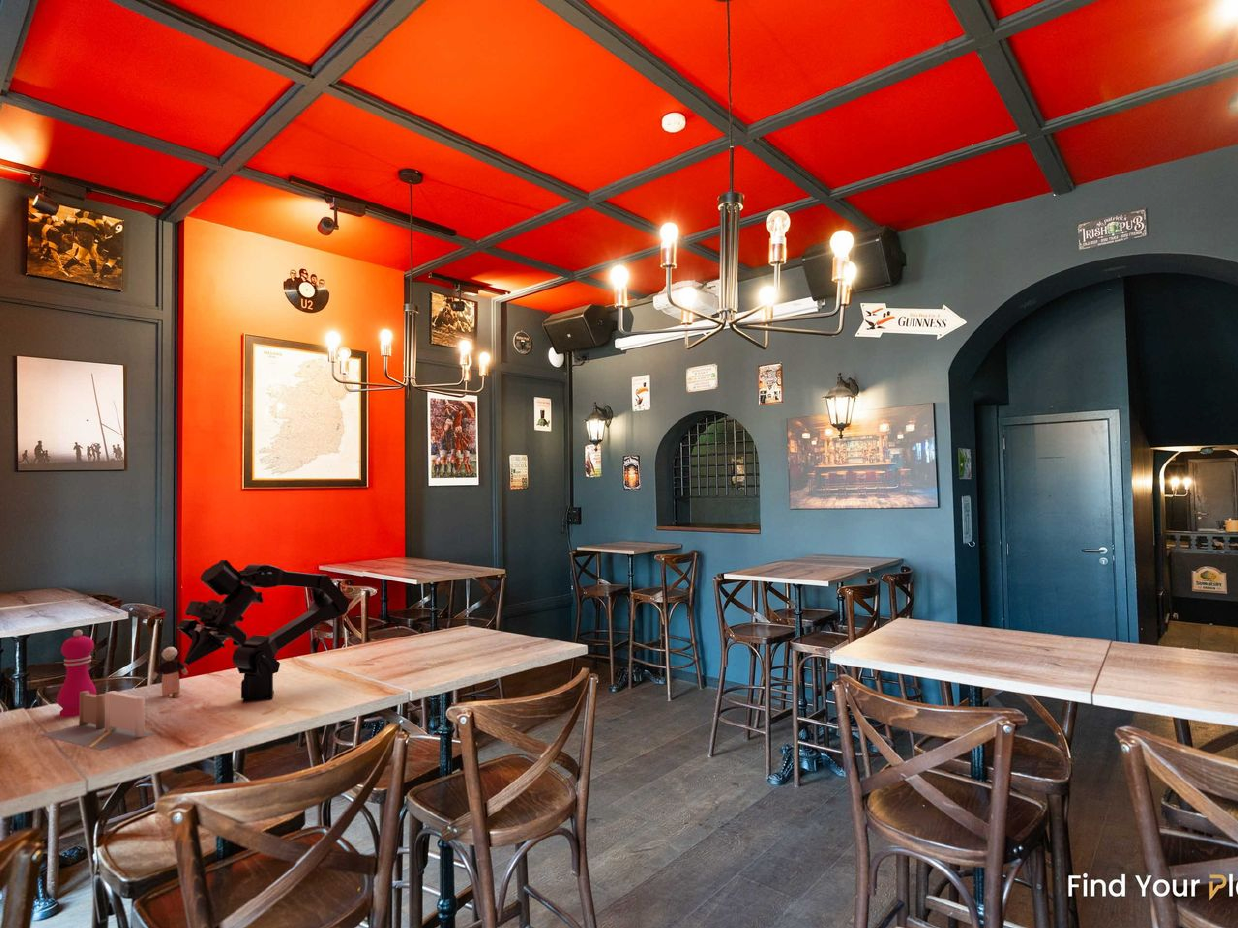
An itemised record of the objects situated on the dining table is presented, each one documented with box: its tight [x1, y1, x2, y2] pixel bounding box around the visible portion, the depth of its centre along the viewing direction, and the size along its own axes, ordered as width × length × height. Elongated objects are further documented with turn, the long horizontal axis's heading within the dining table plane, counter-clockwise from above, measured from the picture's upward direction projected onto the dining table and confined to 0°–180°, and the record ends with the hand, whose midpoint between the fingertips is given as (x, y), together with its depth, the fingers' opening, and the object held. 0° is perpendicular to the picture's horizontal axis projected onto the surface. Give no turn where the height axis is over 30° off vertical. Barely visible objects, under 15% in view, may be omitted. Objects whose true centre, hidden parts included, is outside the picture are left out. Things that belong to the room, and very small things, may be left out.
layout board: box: [41, 691, 155, 751], centre depth 141 cm, size 23×10×8 cm, turn 64°
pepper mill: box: [56, 629, 97, 718], centre depth 157 cm, size 7×7×20 cm
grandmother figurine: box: [151, 646, 188, 699], centre depth 171 cm, size 8×4×13 cm, turn 149°
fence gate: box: [104, 690, 146, 738], centre depth 141 cm, size 12×2×8 cm, turn 64°
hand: (186, 663), depth 152 cm, fingers closed
